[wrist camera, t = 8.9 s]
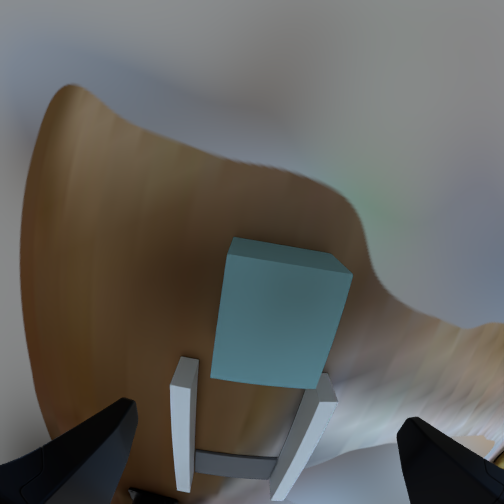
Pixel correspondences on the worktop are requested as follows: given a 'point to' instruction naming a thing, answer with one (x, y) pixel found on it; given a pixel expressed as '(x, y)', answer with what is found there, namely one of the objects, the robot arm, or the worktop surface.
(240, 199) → the worktop surface
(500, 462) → the green grapes
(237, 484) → the worktop surface
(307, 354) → the teal block
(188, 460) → the channel
